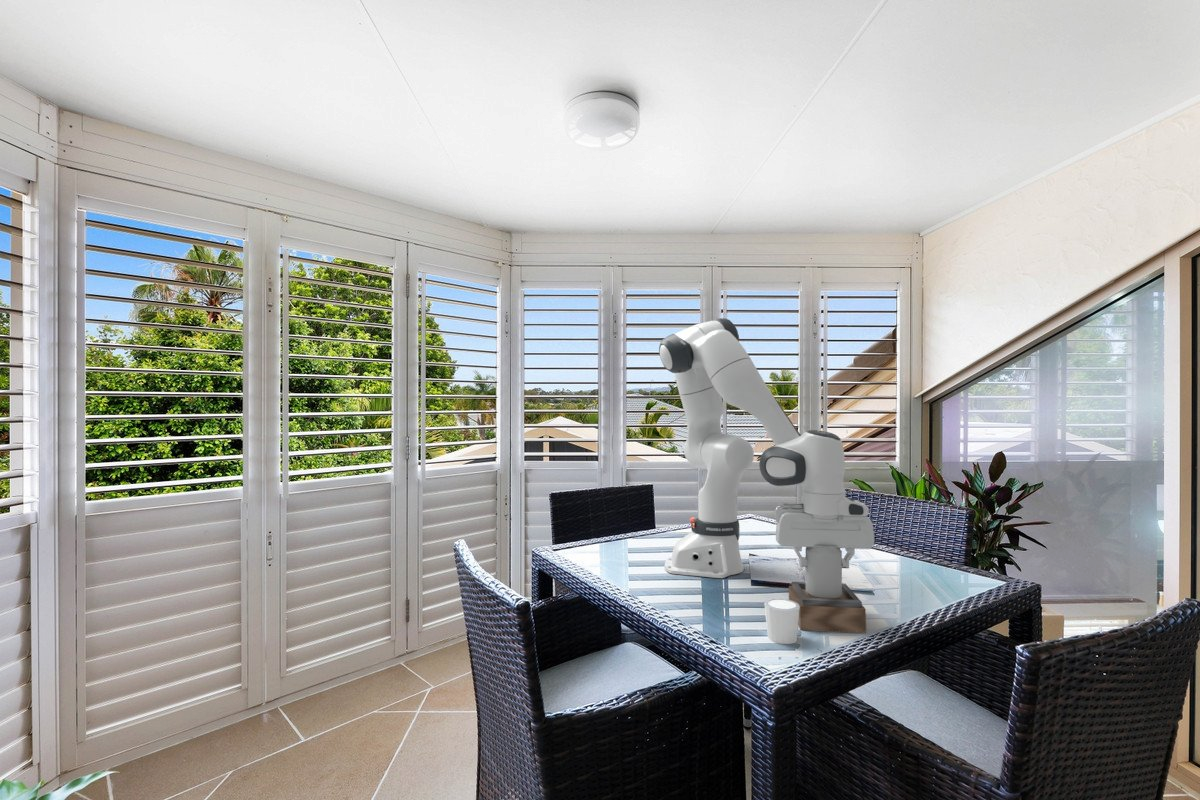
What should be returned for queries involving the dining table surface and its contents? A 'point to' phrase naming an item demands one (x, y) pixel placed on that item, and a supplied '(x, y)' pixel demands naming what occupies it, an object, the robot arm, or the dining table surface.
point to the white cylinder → (782, 620)
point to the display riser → (829, 611)
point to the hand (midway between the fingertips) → (823, 566)
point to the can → (824, 572)
